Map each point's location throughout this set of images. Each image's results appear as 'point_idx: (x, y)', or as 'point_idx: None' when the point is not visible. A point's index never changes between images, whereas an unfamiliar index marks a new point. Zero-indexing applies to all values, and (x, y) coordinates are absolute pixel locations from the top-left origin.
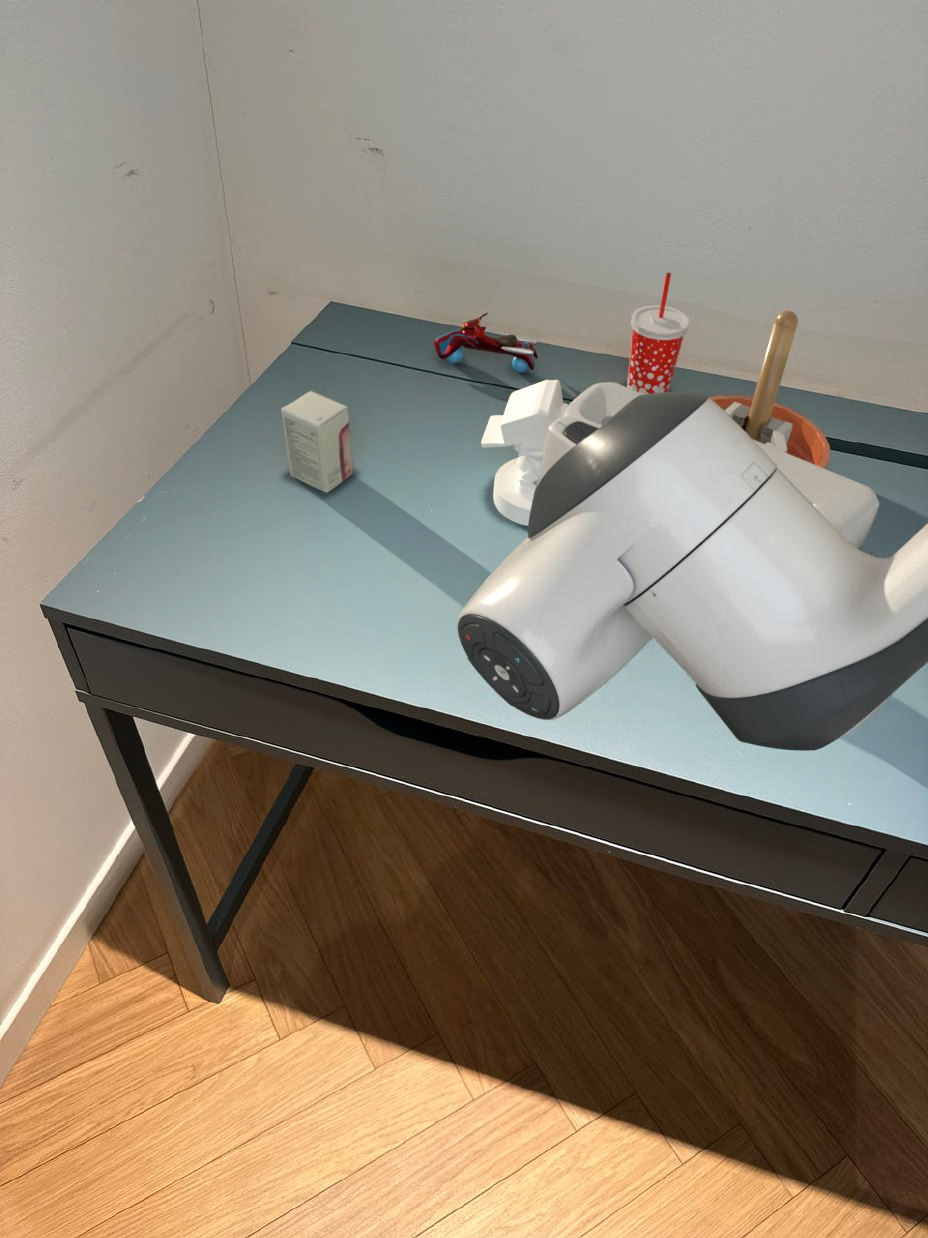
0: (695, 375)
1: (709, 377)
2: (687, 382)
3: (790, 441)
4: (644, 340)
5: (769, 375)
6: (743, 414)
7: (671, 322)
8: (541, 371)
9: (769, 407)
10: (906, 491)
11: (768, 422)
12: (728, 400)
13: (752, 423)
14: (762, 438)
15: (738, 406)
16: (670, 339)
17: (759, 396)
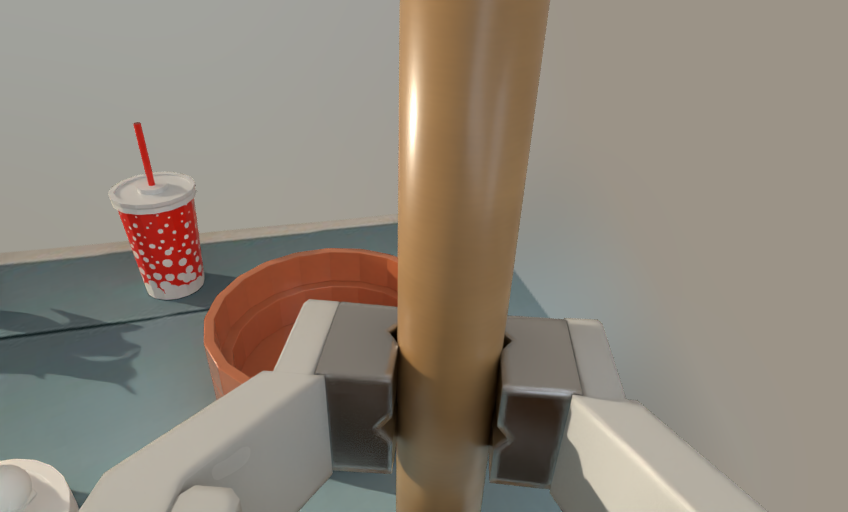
0: (233, 245)
1: (251, 242)
2: (226, 256)
3: (380, 289)
4: (137, 220)
5: (481, 89)
6: (375, 356)
7: (169, 188)
8: (10, 302)
9: (506, 286)
10: (522, 300)
11: (511, 355)
12: (282, 264)
13: (439, 388)
14: (515, 443)
15: (331, 320)
16: (174, 209)
17: (445, 245)
